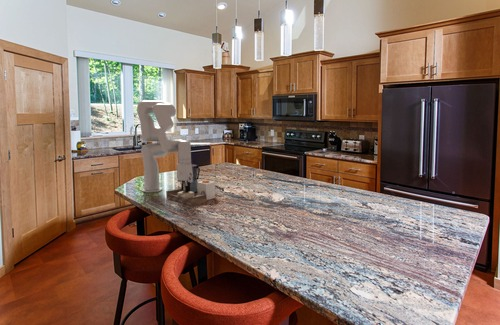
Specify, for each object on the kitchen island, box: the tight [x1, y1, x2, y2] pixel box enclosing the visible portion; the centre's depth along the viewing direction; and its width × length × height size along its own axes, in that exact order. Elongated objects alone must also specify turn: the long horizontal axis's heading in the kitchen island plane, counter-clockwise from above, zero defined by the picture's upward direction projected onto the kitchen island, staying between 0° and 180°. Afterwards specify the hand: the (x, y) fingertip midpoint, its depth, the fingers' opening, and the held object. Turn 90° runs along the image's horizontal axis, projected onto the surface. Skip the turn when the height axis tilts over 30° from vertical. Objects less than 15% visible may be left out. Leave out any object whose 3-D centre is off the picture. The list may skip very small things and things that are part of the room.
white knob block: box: [197, 180, 216, 201], centre depth 202 cm, size 8×8×10 cm
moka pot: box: [190, 163, 201, 193], centre depth 217 cm, size 10×15×20 cm, turn 55°
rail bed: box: [165, 187, 208, 207], centre depth 198 cm, size 24×11×4 cm, turn 49°
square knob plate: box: [178, 182, 195, 199], centre depth 197 cm, size 7×7×9 cm
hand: (185, 191), depth 197 cm, fingers closed on square knob plate, 3 cm apart
